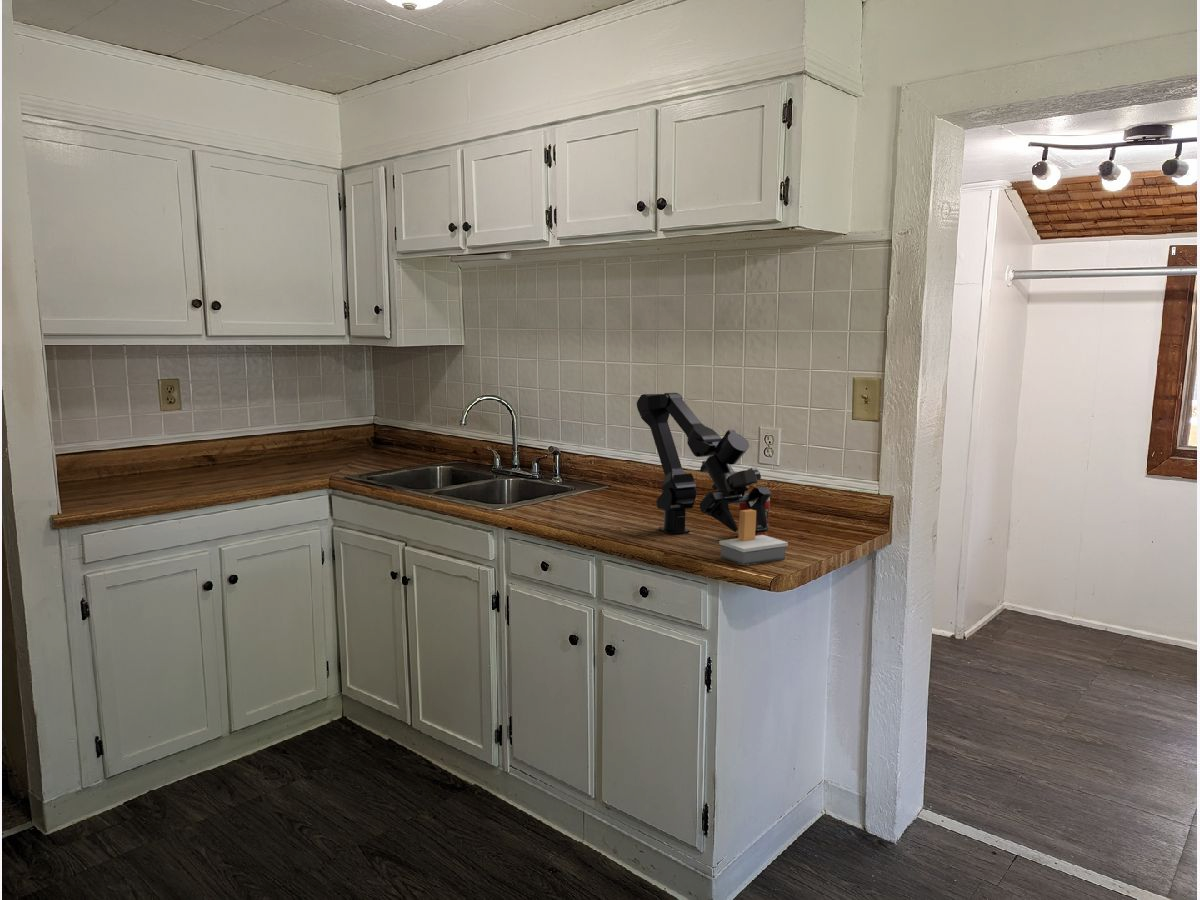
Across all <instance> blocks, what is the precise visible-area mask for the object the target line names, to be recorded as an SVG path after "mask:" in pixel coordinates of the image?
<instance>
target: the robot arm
mask: <svg viewBox="0 0 1200 900" xmlns="http://www.w3.org/2000/svg"><path fill="white" fill-rule="evenodd" d="M636 408H637V412H638V413H639V416H640V418H641V420H643V422H644V423H645V424H646V425H648V426H649V428H650V432H651V434H652V437H653V441H654V444H655V447H656V451H657V454H658V457H659V461H660V463H661V468H662V471H663V474H664V477H663V481H662V484H661V487H662V488H661V489H662V492H661V494H660V495H659V496H658V498H657V499H656V508H657V509H660V510H662V511H663V526H659V527H658V530H660V531H661V532H663V533H666V534H668V535H672V534H673V535H676V534H686V533H687V534H688V533H691V530H689V529H688V528H686V518H687V517H686V513H687V510H689V509H691V510H692V509H694V505H695V501H696V498H697V495H698V494H697V493H698V492H697V488H698V486H697V485H696V482H695V479H694V475H693V473H691V472H688V473H687V472H685V471H684V469H683V467H682V464H681V460H680V457H679V454H678V450H677V447H676V443H675V441H674V438H673V435H672V431H671V429H670V425H669V418H670V417H672V418H673V420H674V421H675V422H676V424H677V425H678V426H679V428H680V429H681V431H683V433H684V434H685V436H686V437H687V442H686V443H687V445H688V447H689V450H690V451H691V453H692V454H693V455H694V456H695V457H697V458H703V457H705V458H706V457H707V458H706V460H702V462H701V466H700V470H699V471H700V472H701V473H708V475H709V477H710V478H711V481H712V483H713V484H712V485H711V488H712V490H713V491H709V492H707V494H706V495H705V496H704V497H703V499H702V500H701V501H700V502H699V509H700V511H701V513H702V514H703V515H705V514H706V515H707V516H709V517H712V518H713V519H715V520H717V521H718V522H720V523H721V524H722V525H724V526H726V527H727V528H728V529H730V530H731V531H733V532H734V533H736V532H737V531H738V526H737V525H738V524H737V523H736V521H735V519H734V517H733V515H732V513H731V511H730V507H729V505H734V504H740V503H744V502H745V504H746V506H747V507H749V508H750V509H752V510H755V511H756V520H757V521H758V523H759V524H760V525H761V526H762V527H763V528H766V527H767V521H766V513H765V503H766V501H767V500H768V499H769V497H770V498H771V496H772V495H773V494H772V492H771V490H770V488H769V487H767V486H756V487H753V488H752V489H751V491H750V492H749V493H746V492H747V491H748V490H749V489H750V487H749V486H750V485H751V486H752V485H753V484H757V483H758V481H759V480H761V478H762V476H761V472H760V470H759V469H758V467H757V466H756V467H755V466H754V467H750V468H748V469H745V470H739V471H735V470H734V469H733V468H732V466H733V465H736V464H737V463H738V462H739V460H740V459H741V458H742V457H743V456H744V454H746V453H747V451H748V450H749V448H750V442H749V441H748V439H747V438H746V437H744V436H743V435H742V434H740V433H737V432H736V429H728V430H727V431H726V432H725V433H724V435H723V437H721V436H720V434H718V433H717V432H716V431H715V430H714V429H712V428H710V427H709V426H706V425H704V424H703V423H702V422H701V421H700V420H699V419H698V417H697V416H696V414H694V412H693V411H692V410H691V408H690V407H689V406H688V404H686V402H685V400H683V396H682V394H681V393H678V392H664V393H648V394H647V393H645V394H641V395H640V396H639V398H637V401H636Z"/></svg>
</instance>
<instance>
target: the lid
mask: <svg viewBox="0 0 1200 900" xmlns="http://www.w3.org/2000/svg"><path fill="white" fill-rule="evenodd" d="M738 527H739V534H738V535H737V536H738V537H737V538H730V539H724V540H719V543H718V544H719V545H720V546H721V545H723V546H726V547H729V548H732V549H735V550H738V551H741V552H750V551H756V550H763V549H770V548H776V547H783V546H784V547H788V546H789V542H788V541H784V540H781V539H778V538H775V537H771V536H769V535H768V536H765V535H758V536H755V529H756V511H755V510H752V509H749V510H740V514H739V513H738Z"/></svg>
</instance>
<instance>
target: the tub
mask: <svg viewBox="0 0 1200 900" xmlns="http://www.w3.org/2000/svg"><path fill="white" fill-rule="evenodd" d="M720 546H721V547H720V558H721V557H722V558H721V559H723V558H725V559H724V560H726V559H727V560H726V561H728V560H730V561H729V562H731V561H733V562H732V563H734V562H736V563H735V564H737V563H739V564H741V566H742V565H746V566H748V565H747V564H752V565H754V564H753V563H758V564H762V562H765V563H770V562H769V561H771V562H775V561H776V560H777V561H781V560H785V559H786V547H787V546H783V547H776V548H770V549H763V550H756V551H750V552H741V551H738V550H735V549H732V548H729V547H726V546H723V545H721V544H720ZM739 564H738V565H739Z"/></svg>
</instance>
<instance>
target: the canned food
mask: <svg viewBox="0 0 1200 900" xmlns="http://www.w3.org/2000/svg"><path fill="white" fill-rule="evenodd" d="M770 498H771V496H770V497H769V499H768V500H767V501H766V503H765V513H766V521H767V527H766V528H763V527H762V526H761V525H760V524H759V523H758V521H757V520H756V529H755V536H758V535H765V536H769V525H770V524H769V523H770V521H769V520H770V509H771V507H770V505H771V499H770ZM738 504H739V506H738V507H739V508H738V510H739V511H738V515H739V514H740V510H749V509H750V508H749V507H747V506H746V504H745V502H744V503H738ZM737 528H738V530H737V531H738V532H737V533H738V535H739V526H737Z"/></svg>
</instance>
